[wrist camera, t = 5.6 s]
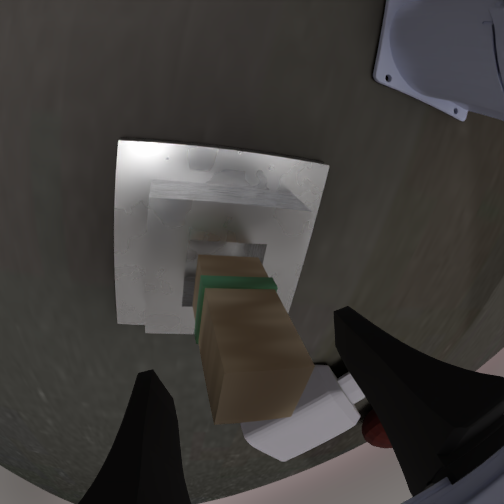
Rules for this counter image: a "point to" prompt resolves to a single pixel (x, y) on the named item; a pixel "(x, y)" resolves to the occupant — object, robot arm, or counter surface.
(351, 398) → the charger
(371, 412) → the potato
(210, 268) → the post
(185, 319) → the stand
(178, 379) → the counter surface
